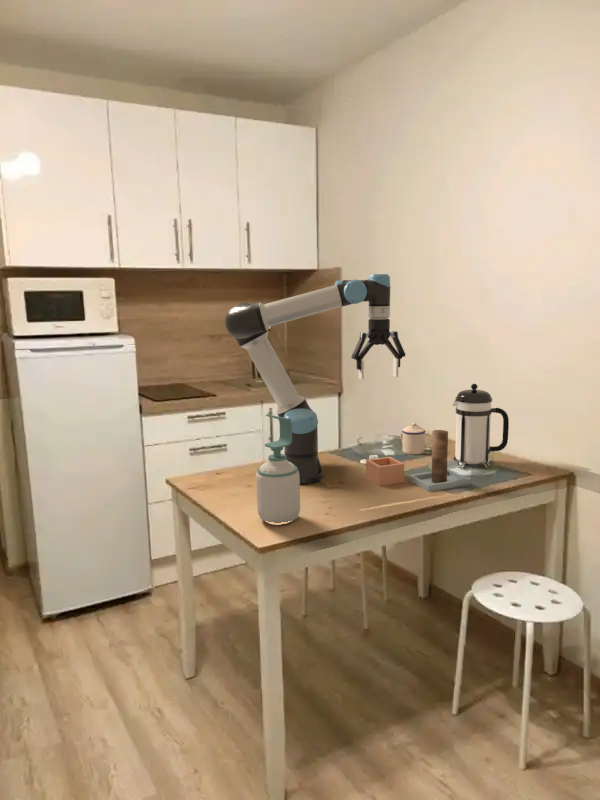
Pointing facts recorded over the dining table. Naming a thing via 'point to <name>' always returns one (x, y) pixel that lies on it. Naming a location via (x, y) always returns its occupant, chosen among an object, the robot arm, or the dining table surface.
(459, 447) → the coffee press
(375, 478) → the terracotta square box
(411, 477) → the slate tray
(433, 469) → the walnut dowel
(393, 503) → the dining table surface
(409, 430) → the teacup with lid
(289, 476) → the soap bottle
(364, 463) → the teacup and saucer
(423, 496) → the dining table surface
